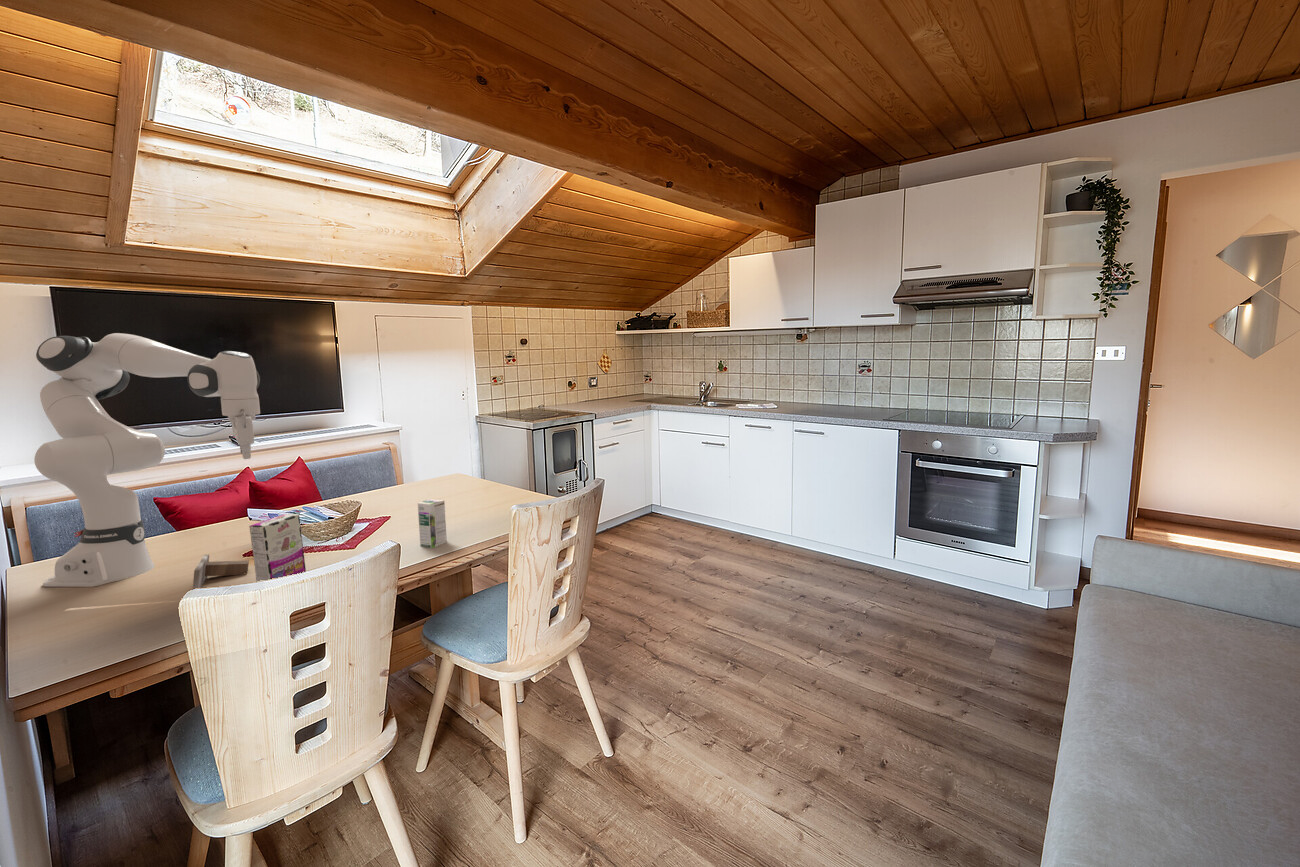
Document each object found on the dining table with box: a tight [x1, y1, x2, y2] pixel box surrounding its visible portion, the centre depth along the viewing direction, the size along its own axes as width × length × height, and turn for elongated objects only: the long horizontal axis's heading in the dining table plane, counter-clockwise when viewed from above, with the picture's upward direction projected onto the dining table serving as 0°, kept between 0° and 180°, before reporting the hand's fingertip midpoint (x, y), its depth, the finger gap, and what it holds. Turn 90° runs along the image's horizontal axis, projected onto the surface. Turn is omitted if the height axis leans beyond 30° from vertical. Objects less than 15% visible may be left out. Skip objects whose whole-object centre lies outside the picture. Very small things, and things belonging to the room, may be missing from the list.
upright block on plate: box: [192, 554, 250, 590], centre depth 147 cm, size 14×6×10 cm
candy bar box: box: [248, 513, 307, 582], centre depth 147 cm, size 11×5×16 cm, turn 168°
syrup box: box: [417, 498, 448, 549], centre depth 171 cm, size 6×6×14 cm
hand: (245, 456), depth 162 cm, fingers open, 8 cm apart
